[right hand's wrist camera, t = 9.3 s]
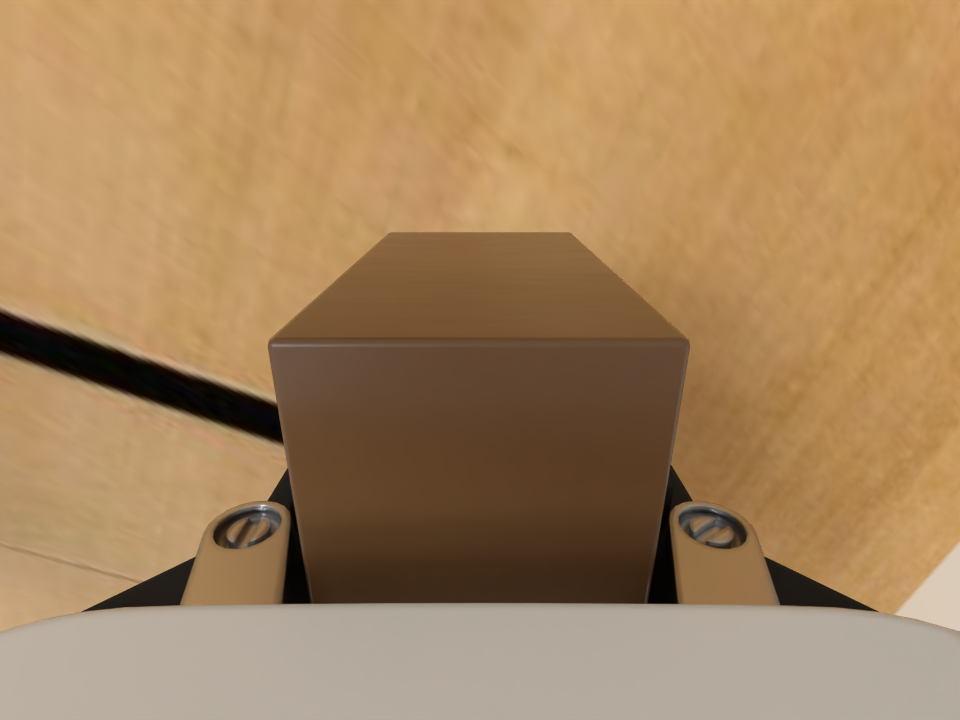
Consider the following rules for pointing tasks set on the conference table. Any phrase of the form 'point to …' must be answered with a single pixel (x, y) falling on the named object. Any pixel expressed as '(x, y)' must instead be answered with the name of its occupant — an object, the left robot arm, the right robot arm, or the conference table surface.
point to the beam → (479, 424)
